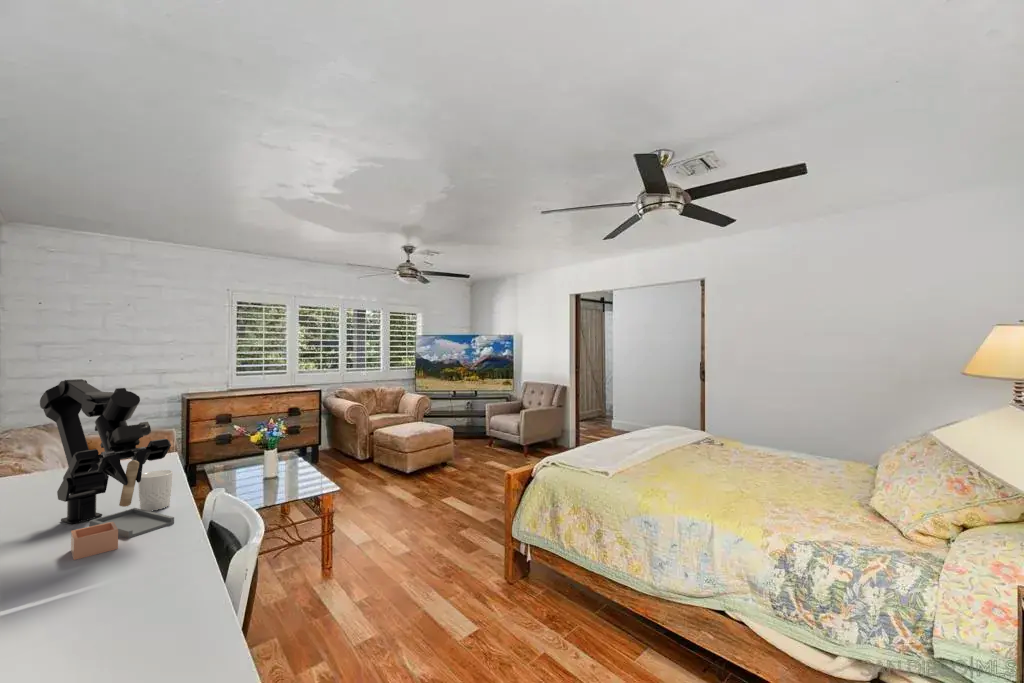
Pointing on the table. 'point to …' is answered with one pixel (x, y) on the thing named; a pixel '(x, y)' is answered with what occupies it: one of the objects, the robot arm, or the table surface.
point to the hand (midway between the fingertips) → (133, 482)
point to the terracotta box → (94, 540)
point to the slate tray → (135, 521)
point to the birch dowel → (129, 483)
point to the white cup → (155, 490)
